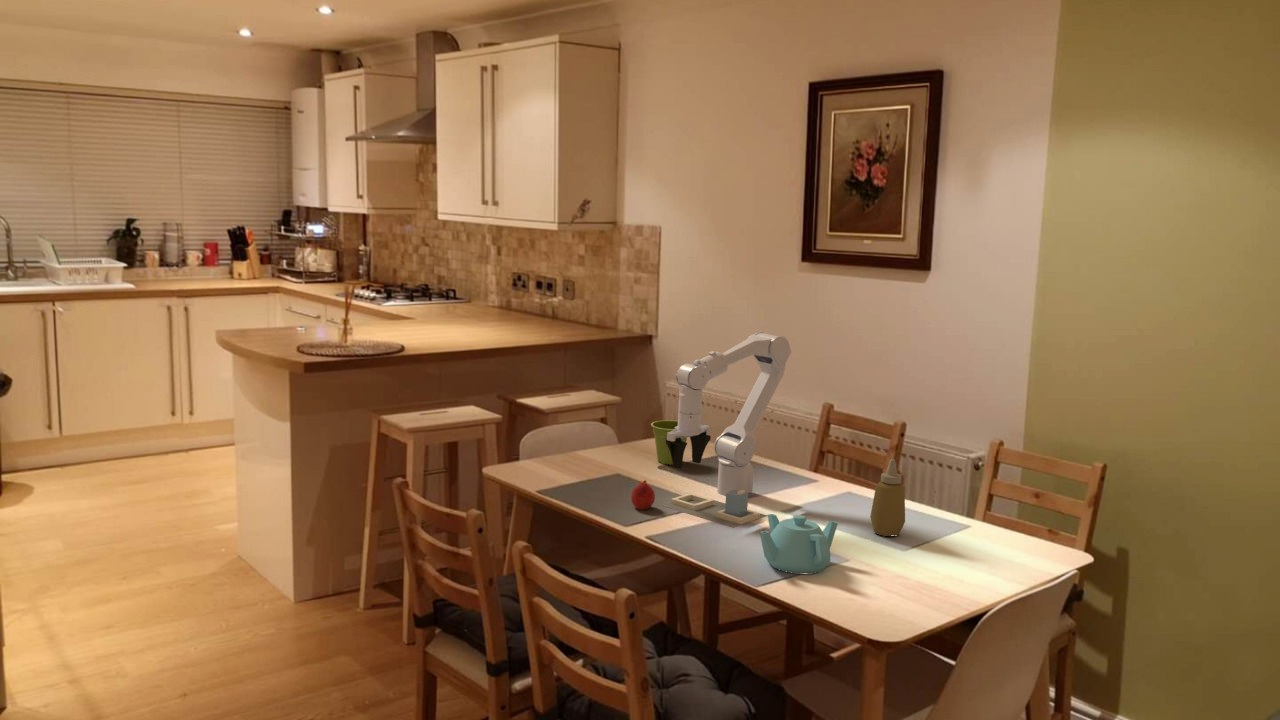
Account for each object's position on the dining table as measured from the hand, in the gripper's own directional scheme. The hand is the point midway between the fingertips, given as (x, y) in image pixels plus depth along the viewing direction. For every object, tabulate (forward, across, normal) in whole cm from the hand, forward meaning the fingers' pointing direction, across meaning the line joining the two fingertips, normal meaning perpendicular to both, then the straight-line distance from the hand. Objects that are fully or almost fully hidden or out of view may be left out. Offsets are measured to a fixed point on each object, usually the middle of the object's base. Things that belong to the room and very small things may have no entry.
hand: (686, 464), depth 256 cm
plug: (+9, +2, +18) cm, 20 cm away
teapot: (+10, +16, +44) cm, 48 cm away
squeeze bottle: (+10, -18, +47) cm, 51 cm away
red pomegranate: (+10, +14, -2) cm, 17 cm away
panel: (+10, +2, +11) cm, 15 cm away
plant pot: (+10, -28, -29) cm, 42 cm away
